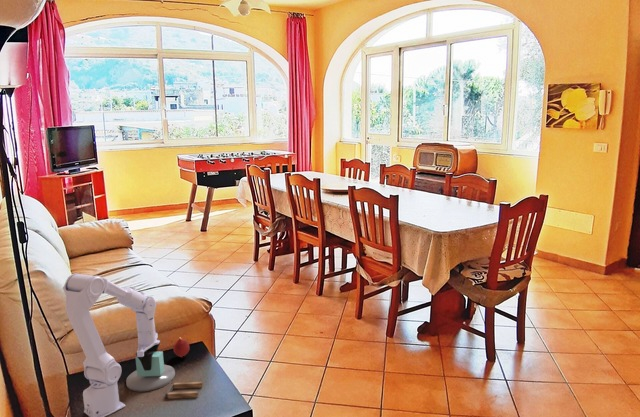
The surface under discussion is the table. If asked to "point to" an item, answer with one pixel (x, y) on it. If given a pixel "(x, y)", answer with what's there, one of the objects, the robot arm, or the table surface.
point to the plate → (150, 380)
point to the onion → (181, 347)
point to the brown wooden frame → (183, 394)
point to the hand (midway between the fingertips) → (150, 366)
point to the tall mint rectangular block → (156, 365)
